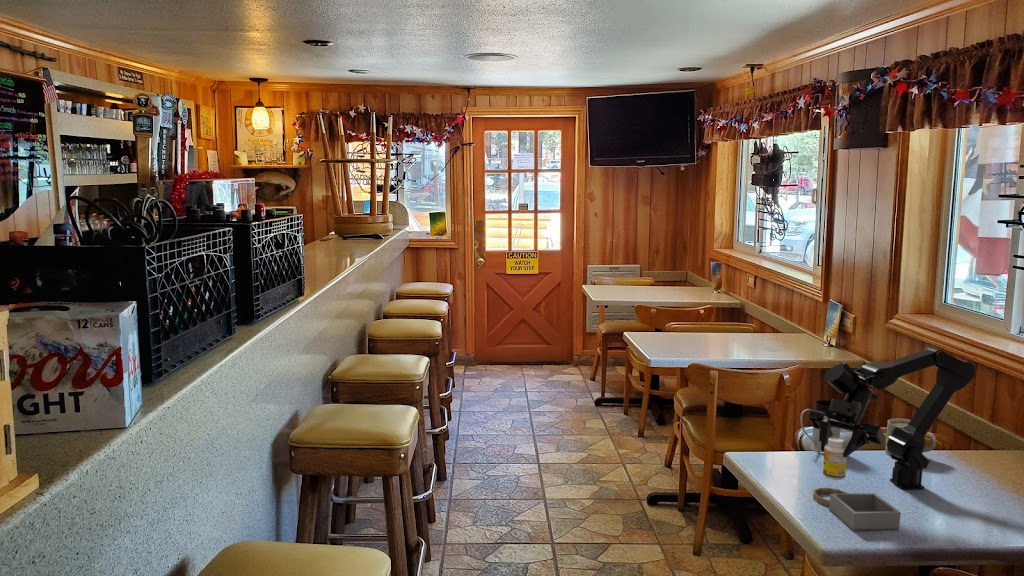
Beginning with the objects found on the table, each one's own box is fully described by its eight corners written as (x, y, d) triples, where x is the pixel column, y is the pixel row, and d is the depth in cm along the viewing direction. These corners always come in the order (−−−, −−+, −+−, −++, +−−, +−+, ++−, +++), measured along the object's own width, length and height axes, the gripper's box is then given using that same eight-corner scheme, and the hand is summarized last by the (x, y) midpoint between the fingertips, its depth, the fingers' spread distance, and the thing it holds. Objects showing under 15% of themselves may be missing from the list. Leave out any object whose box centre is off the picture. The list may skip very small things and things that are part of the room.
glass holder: (846, 453, 235) (850, 406, 233) (807, 457, 231) (811, 409, 229) (827, 443, 243) (830, 398, 241) (789, 447, 239) (792, 401, 237)
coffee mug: (880, 454, 234) (883, 423, 232) (890, 446, 241) (893, 416, 239) (928, 465, 225) (931, 433, 223) (937, 457, 232) (940, 425, 231)
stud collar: (840, 492, 204) (840, 487, 204) (857, 507, 195) (858, 501, 195) (807, 493, 204) (807, 488, 203) (823, 507, 195) (823, 502, 194)
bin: (873, 509, 194) (874, 492, 193) (899, 530, 182) (900, 512, 182) (829, 510, 193) (830, 493, 192) (852, 531, 182) (854, 513, 181)
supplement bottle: (825, 471, 202) (827, 434, 201) (847, 475, 199) (850, 438, 198) (820, 477, 198) (822, 440, 196) (843, 482, 195) (845, 444, 193)
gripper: (812, 380, 205) (789, 428, 199) (883, 395, 191) (860, 447, 185) (824, 403, 211) (802, 450, 205) (893, 418, 197) (872, 469, 192)
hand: (833, 453), depth 197 cm, fingers closed on supplement bottle, 5 cm apart
